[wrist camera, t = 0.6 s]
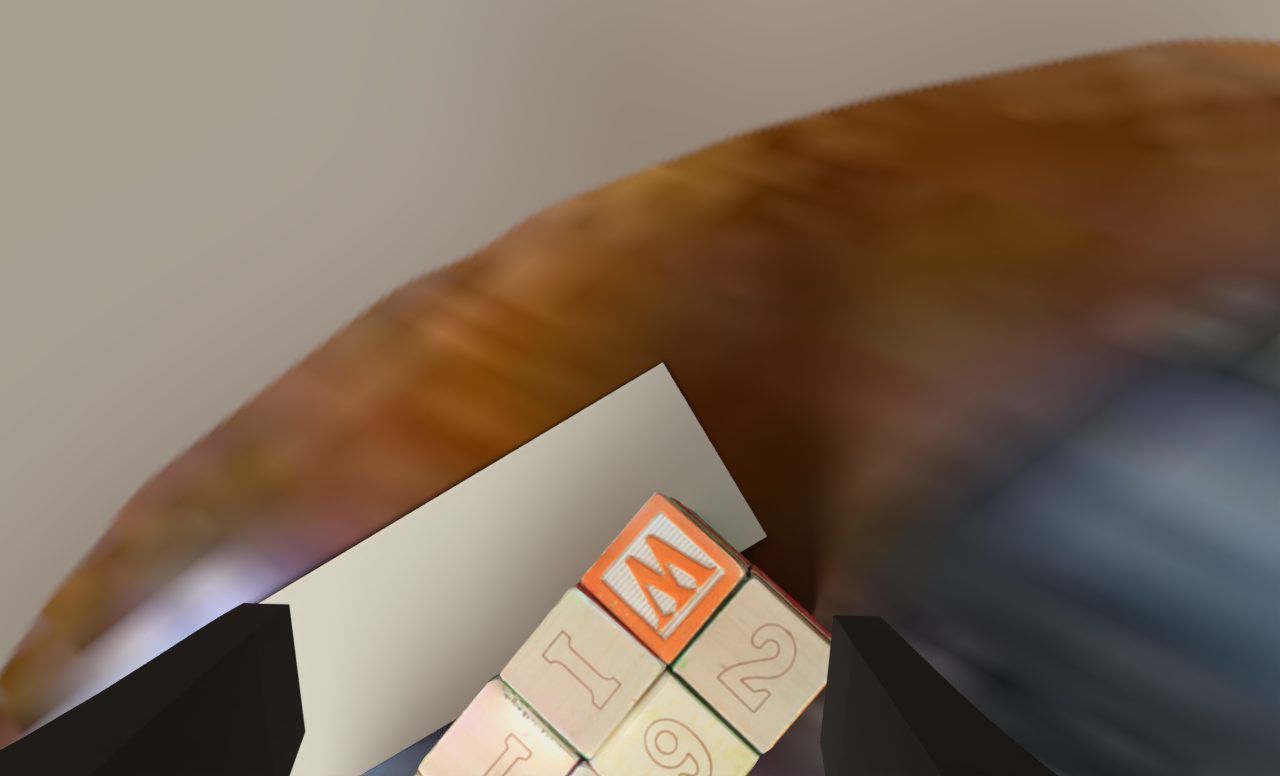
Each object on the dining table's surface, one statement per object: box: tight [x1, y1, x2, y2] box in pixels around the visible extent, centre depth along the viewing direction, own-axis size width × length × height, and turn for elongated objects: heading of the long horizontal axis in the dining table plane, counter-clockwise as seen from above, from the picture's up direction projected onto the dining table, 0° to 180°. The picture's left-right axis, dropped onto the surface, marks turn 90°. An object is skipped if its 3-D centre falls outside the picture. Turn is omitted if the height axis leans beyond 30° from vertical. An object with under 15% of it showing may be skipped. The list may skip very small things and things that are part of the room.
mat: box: [259, 363, 767, 776], centre depth 35 cm, size 8×22×1 cm, turn 120°
